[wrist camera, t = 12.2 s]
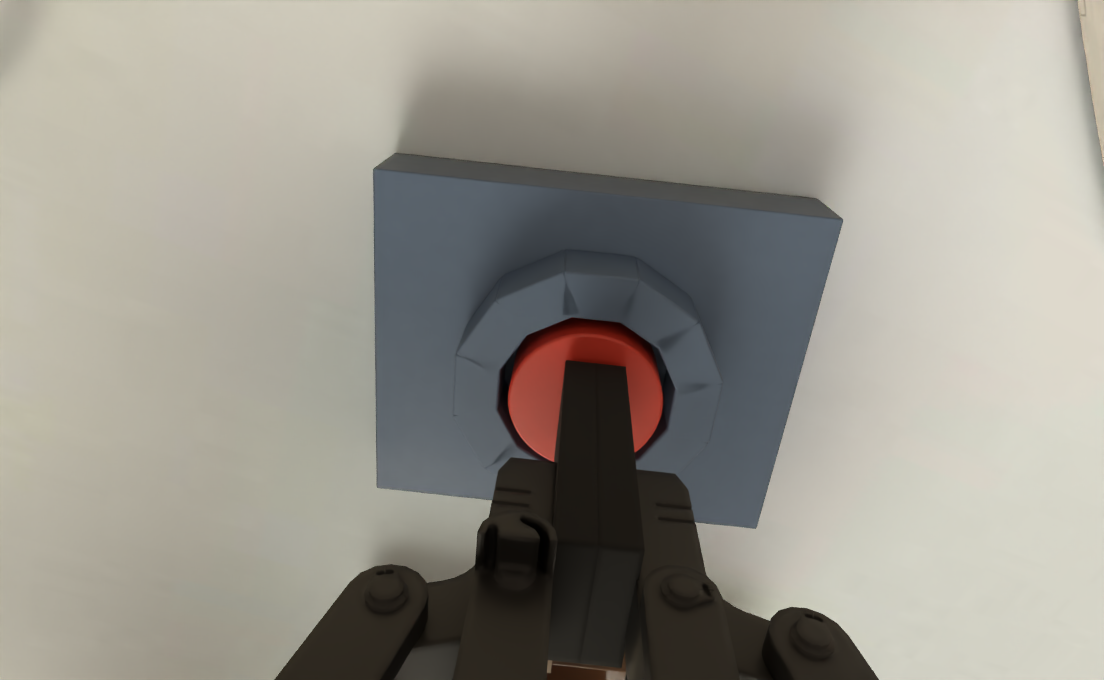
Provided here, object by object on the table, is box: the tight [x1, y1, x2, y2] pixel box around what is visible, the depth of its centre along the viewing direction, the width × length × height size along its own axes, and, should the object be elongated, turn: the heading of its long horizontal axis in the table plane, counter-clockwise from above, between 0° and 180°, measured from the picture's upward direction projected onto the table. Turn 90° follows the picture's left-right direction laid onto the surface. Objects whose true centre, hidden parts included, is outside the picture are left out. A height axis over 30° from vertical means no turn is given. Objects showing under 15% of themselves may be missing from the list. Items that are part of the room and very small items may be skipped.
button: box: [508, 317, 663, 462], centre depth 19 cm, size 4×4×2 cm
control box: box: [373, 153, 843, 529], centre depth 20 cm, size 12×10×4 cm
